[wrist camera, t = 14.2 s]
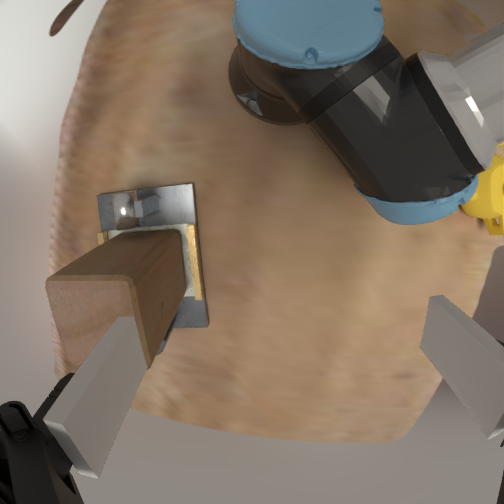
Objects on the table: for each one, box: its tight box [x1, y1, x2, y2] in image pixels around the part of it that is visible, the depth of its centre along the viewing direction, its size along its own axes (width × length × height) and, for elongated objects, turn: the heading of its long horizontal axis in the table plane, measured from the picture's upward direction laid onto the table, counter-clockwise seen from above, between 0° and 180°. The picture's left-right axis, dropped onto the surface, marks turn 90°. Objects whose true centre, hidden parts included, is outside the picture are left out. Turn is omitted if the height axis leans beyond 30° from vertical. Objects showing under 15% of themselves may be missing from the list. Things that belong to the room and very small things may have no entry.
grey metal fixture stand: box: [97, 183, 209, 356], centre depth 41 cm, size 22×15×10 cm
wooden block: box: [45, 230, 186, 370], centre depth 35 cm, size 10×10×20 cm
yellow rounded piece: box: [461, 143, 504, 235], centre depth 37 cm, size 14×13×10 cm
